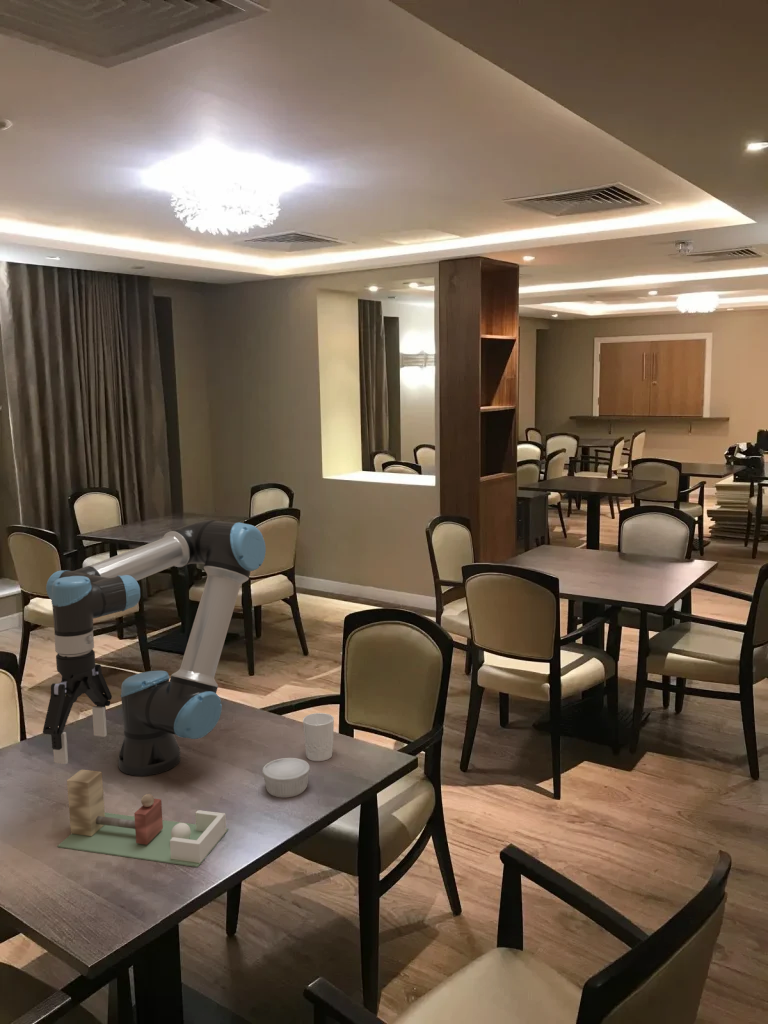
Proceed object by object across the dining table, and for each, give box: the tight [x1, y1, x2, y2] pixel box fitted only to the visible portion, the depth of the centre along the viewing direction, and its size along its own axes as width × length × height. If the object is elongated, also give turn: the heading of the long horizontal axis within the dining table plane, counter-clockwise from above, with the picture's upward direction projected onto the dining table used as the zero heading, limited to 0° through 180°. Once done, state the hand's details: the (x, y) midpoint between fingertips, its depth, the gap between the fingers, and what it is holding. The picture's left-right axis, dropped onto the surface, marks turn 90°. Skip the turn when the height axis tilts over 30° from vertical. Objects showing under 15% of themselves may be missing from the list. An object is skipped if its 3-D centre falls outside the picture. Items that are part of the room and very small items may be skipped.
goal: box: [170, 809, 227, 864], centre depth 164 cm, size 6×12×4 cm, turn 166°
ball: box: [171, 822, 191, 839], centre depth 165 cm, size 4×4×4 cm
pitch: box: [57, 812, 229, 868], centre depth 168 cm, size 32×14×1 cm, turn 76°
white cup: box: [302, 712, 335, 762], centre depth 204 cm, size 8×8×10 cm
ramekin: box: [261, 757, 311, 799], centre depth 188 cm, size 11×11×5 cm
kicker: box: [66, 769, 163, 845], centre depth 168 cm, size 18×6×12 cm, turn 76°
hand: (81, 748), depth 168 cm, fingers open, 13 cm apart
